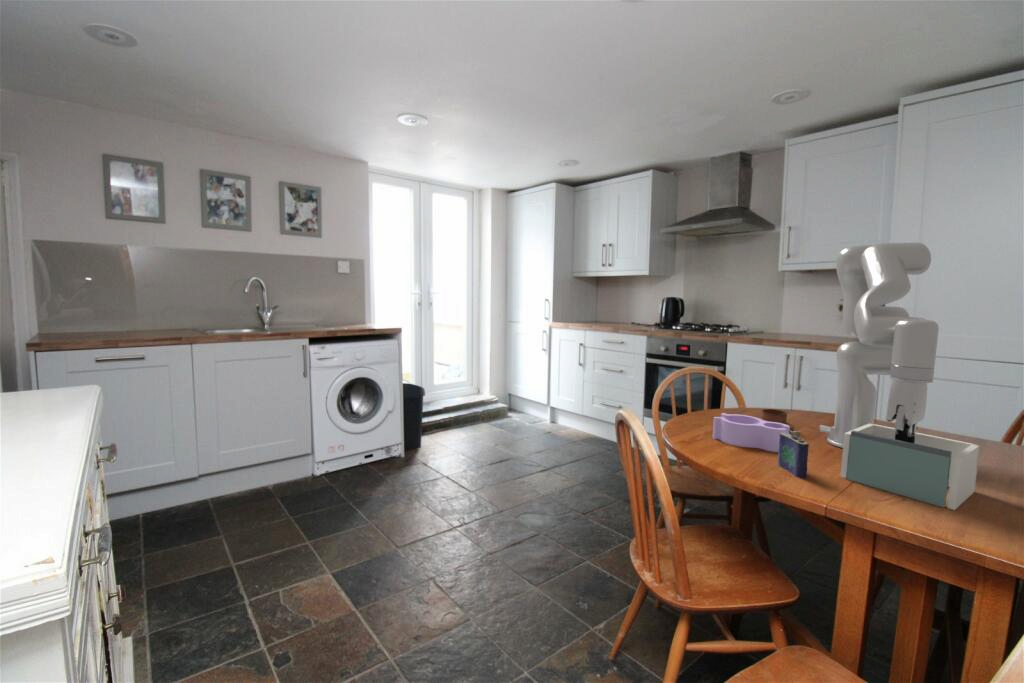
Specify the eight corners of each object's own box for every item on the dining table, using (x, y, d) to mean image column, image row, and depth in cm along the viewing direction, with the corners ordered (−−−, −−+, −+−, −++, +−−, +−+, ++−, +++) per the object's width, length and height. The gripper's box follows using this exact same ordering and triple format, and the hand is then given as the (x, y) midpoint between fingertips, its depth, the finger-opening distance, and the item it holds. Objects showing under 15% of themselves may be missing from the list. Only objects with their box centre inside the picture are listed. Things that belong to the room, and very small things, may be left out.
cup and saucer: (751, 423, 166) (753, 406, 166) (790, 427, 162) (792, 409, 161) (755, 432, 155) (756, 414, 155) (796, 436, 151) (798, 418, 150)
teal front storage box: (865, 467, 124) (869, 423, 123) (974, 495, 107) (980, 445, 106) (840, 480, 115) (844, 433, 114) (954, 514, 98) (960, 459, 97)
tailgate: (848, 478, 114) (853, 430, 113) (945, 506, 100) (951, 451, 98) (846, 479, 114) (851, 431, 112) (943, 507, 99) (950, 452, 98)
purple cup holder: (791, 445, 142) (793, 423, 141) (780, 456, 133) (782, 432, 132) (723, 431, 155) (724, 411, 155) (709, 440, 146) (710, 418, 146)
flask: (774, 467, 124) (777, 425, 123) (786, 467, 124) (789, 425, 123) (798, 482, 114) (802, 436, 113) (811, 482, 114) (815, 437, 113)
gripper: (902, 368, 114) (894, 441, 116) (879, 374, 105) (871, 453, 107) (943, 373, 107) (934, 450, 109) (922, 379, 99) (913, 463, 101)
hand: (903, 451), depth 108 cm, fingers closed
